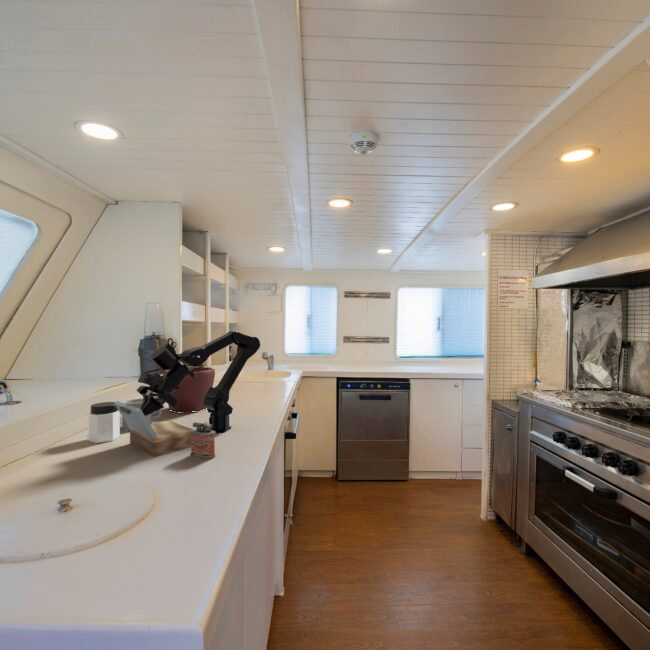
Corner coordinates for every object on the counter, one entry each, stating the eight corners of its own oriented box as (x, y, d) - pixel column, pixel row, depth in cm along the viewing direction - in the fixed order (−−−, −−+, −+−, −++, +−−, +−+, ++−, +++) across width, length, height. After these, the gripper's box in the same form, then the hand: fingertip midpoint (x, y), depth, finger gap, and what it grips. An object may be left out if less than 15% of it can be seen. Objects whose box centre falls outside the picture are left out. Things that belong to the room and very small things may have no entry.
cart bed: (168, 434, 126) (168, 420, 126) (194, 445, 115) (194, 429, 115) (129, 443, 116) (130, 428, 116) (154, 456, 105) (154, 439, 105)
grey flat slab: (133, 425, 117) (117, 401, 114) (157, 436, 105) (140, 409, 102) (127, 429, 116) (111, 404, 112) (151, 440, 104) (134, 413, 101)
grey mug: (119, 431, 130) (119, 404, 130) (125, 424, 139) (125, 399, 139) (159, 428, 134) (159, 402, 134) (162, 421, 144) (162, 397, 144)
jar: (88, 444, 115) (88, 408, 116) (89, 438, 122) (89, 403, 122) (120, 439, 120) (120, 404, 120) (118, 433, 127) (118, 400, 127)
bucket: (188, 417, 151) (188, 358, 151) (149, 413, 159) (149, 357, 159) (224, 405, 173) (224, 354, 174) (188, 402, 181) (188, 353, 182)
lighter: (217, 456, 105) (217, 422, 105) (210, 460, 102) (210, 425, 102) (195, 453, 108) (195, 420, 108) (187, 456, 104) (187, 423, 105)
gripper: (143, 361, 120) (106, 398, 111) (169, 365, 108) (129, 406, 99) (165, 382, 126) (132, 419, 117) (192, 388, 114) (157, 429, 105)
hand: (137, 418), depth 110 cm, fingers closed, pressing on grey flat slab
